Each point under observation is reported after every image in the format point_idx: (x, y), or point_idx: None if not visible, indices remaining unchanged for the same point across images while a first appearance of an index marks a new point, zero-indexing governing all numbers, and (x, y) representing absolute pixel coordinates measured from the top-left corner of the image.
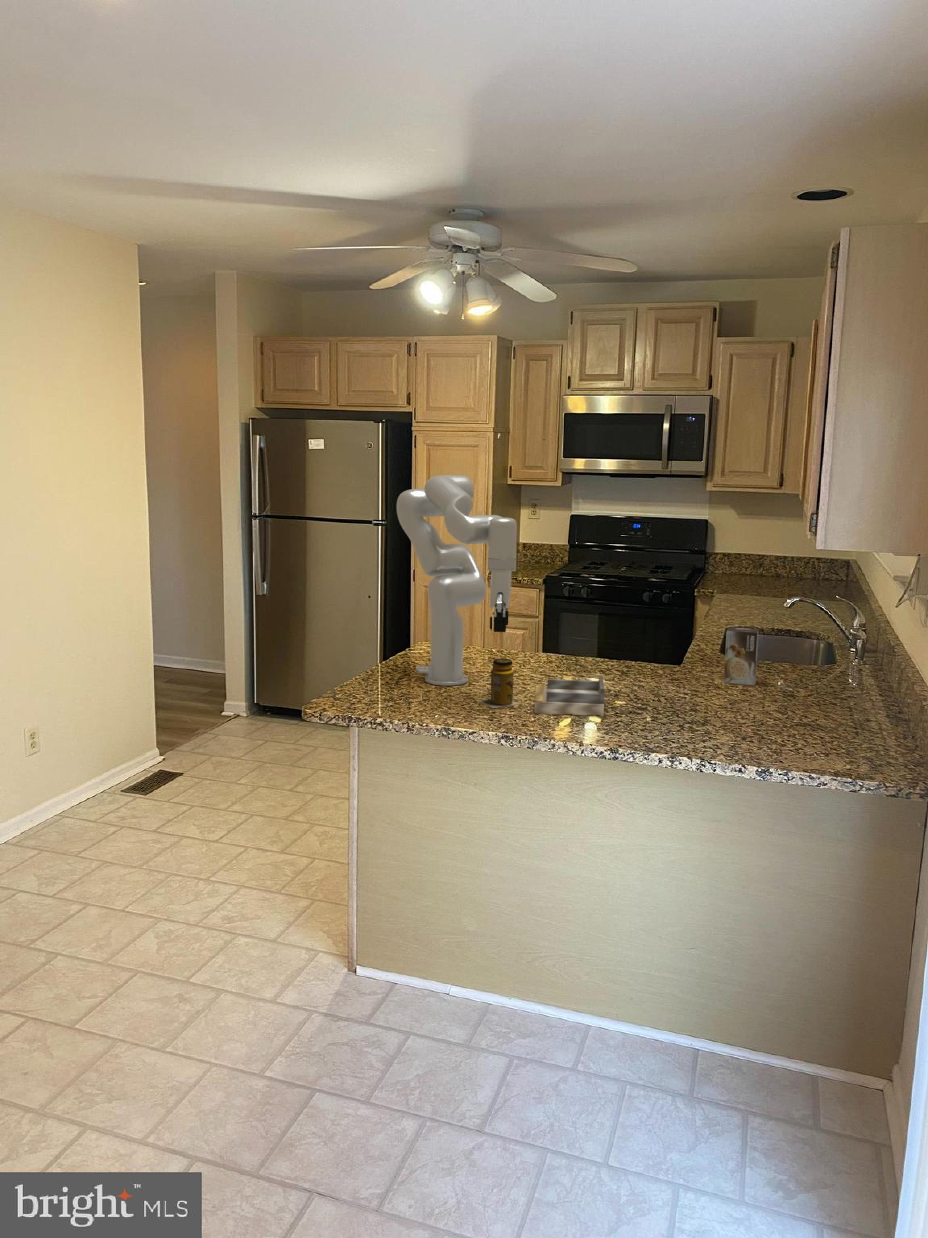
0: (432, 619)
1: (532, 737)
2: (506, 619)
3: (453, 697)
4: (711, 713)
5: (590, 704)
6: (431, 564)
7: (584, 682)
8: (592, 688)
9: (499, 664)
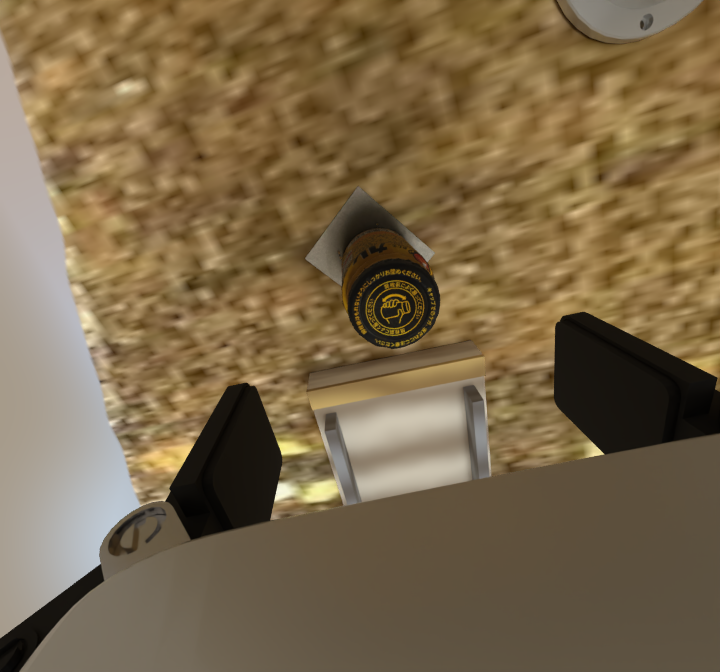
0: None
1: (117, 414)
2: (584, 424)
3: (386, 65)
4: None
5: (343, 502)
6: None
7: None
8: None
9: (347, 303)
